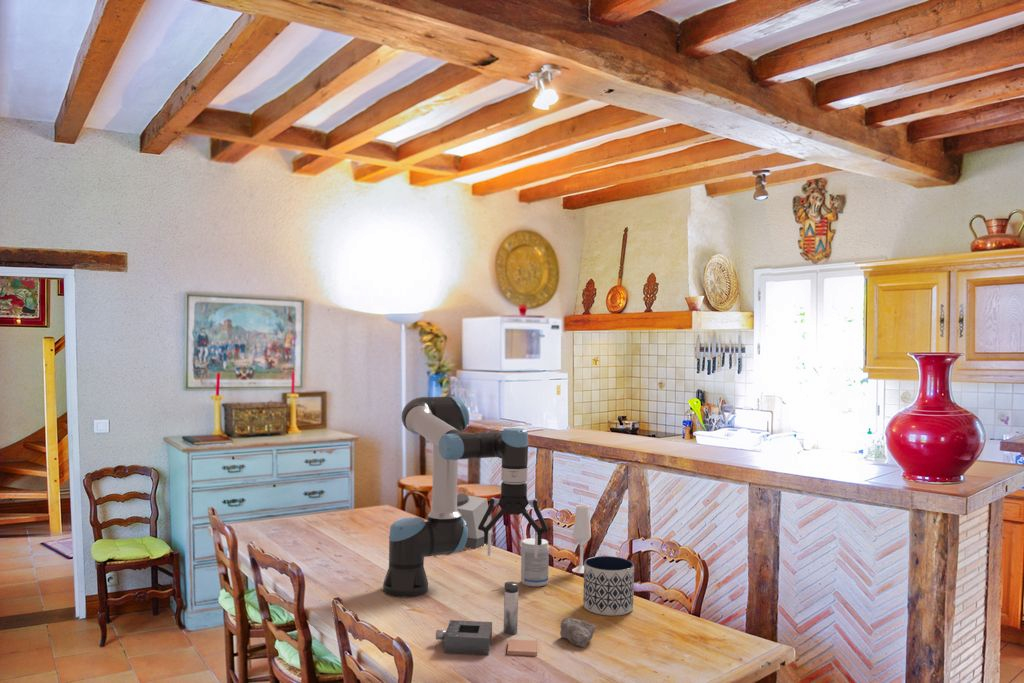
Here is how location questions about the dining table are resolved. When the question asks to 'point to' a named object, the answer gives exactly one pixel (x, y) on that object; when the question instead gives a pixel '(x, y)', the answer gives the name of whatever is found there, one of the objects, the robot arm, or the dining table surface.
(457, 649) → the block
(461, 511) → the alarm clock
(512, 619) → the grey tall cylinder
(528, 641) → the coaster
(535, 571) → the supplement tub
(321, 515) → the dining table surface
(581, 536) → the champagne flute
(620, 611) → the planter
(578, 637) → the stone
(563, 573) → the dining table surface
